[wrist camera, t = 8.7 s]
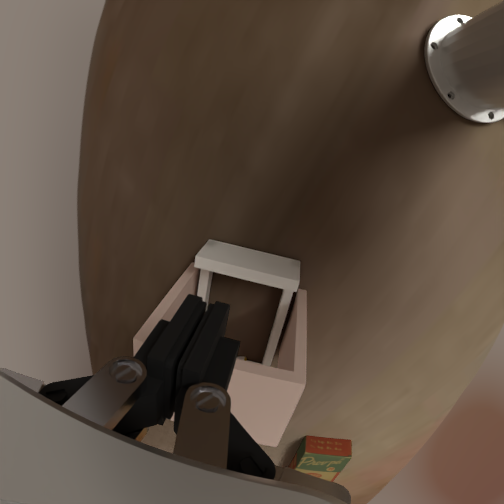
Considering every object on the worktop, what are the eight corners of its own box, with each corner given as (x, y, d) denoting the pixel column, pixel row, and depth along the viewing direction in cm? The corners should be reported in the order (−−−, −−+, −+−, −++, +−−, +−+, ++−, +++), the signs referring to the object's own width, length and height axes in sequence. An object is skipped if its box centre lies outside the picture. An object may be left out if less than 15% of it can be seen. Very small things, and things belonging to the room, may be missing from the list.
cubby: (306, 290, 36) (305, 384, 22) (287, 350, 40) (276, 447, 26) (192, 262, 37) (133, 338, 23) (184, 324, 40) (136, 408, 26)
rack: (300, 260, 35) (299, 281, 30) (253, 413, 45) (248, 437, 40) (209, 239, 35) (195, 255, 31) (188, 395, 45) (178, 419, 41)
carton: (282, 475, 52) (280, 492, 48) (305, 432, 46) (303, 453, 42) (322, 479, 51) (321, 496, 47) (352, 438, 45) (353, 458, 41)
